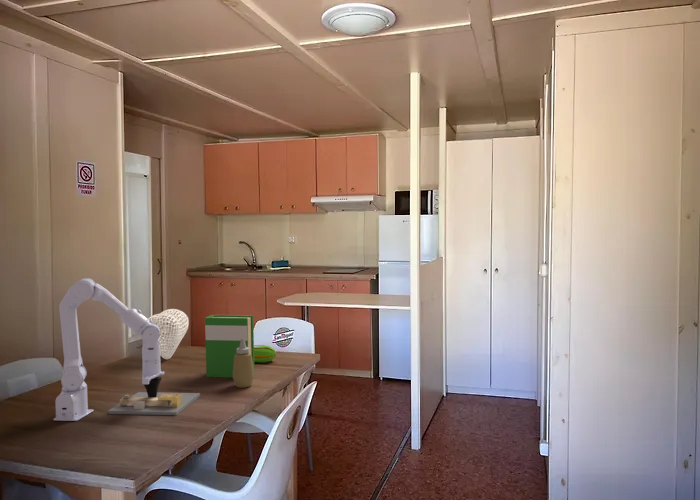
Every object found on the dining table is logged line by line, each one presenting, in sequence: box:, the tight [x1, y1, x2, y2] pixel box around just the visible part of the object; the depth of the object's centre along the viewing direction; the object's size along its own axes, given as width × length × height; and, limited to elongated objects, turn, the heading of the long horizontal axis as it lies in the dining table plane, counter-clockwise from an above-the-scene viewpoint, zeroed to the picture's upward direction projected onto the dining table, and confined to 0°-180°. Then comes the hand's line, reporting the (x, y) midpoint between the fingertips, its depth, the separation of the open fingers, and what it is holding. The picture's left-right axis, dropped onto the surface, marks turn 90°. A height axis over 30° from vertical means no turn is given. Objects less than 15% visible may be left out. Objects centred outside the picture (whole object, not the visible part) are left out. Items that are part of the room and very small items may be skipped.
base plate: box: [107, 391, 201, 416], centre depth 182 cm, size 20×23×1 cm
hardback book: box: [204, 314, 255, 379], centre depth 218 cm, size 18×7×24 cm, turn 81°
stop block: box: [134, 401, 145, 409], centre depth 176 cm, size 2×3×2 cm, turn 84°
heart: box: [147, 308, 190, 360], centre depth 247 cm, size 28×16×22 cm, turn 179°
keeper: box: [158, 394, 182, 408], centre depth 178 cm, size 4×6×3 cm, turn 84°
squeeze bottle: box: [232, 338, 255, 389], centre depth 203 cm, size 8×8×18 cm
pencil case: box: [254, 344, 277, 364], centre depth 241 cm, size 7×8×20 cm
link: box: [119, 394, 172, 407], centre depth 179 cm, size 17×4×3 cm, turn 85°
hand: (152, 399), depth 181 cm, fingers closed
